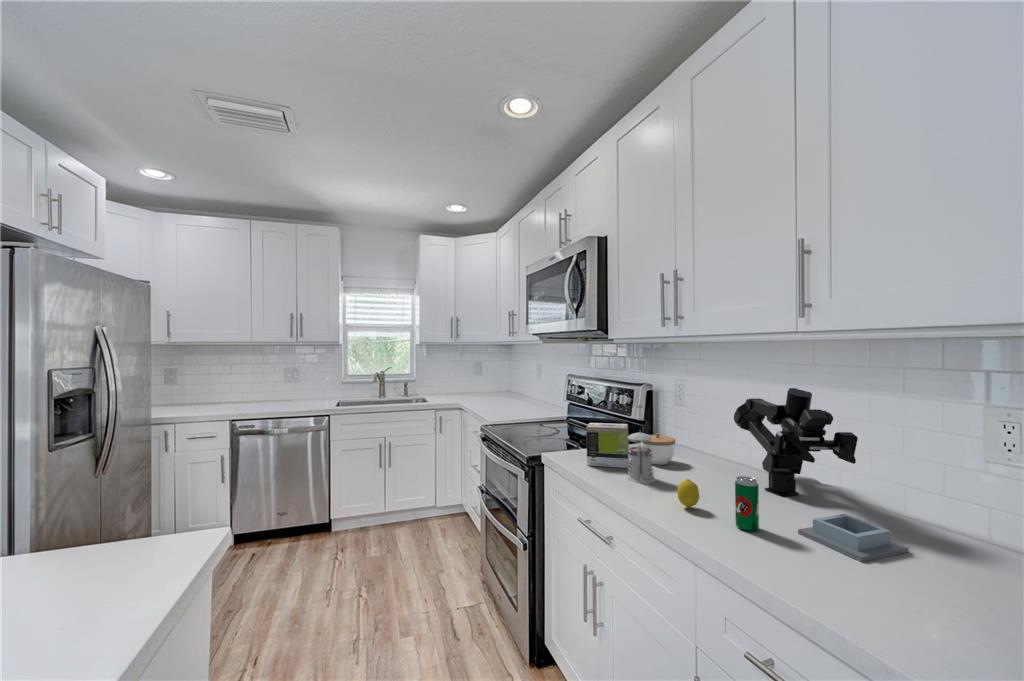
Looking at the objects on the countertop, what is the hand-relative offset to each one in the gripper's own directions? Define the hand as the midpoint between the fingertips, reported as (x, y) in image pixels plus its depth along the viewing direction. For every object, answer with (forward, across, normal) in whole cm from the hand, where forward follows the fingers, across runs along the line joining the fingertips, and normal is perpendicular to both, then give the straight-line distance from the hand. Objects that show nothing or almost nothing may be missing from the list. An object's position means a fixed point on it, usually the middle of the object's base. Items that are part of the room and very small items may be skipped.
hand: (834, 461), depth 104 cm
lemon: (-5, -31, +19) cm, 37 cm away
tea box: (-46, -48, +31) cm, 74 cm away
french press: (-29, -40, +26) cm, 55 cm away
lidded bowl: (-50, -29, +32) cm, 66 cm away
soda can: (+6, -21, +15) cm, 27 cm away
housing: (+12, -1, +13) cm, 18 cm away
